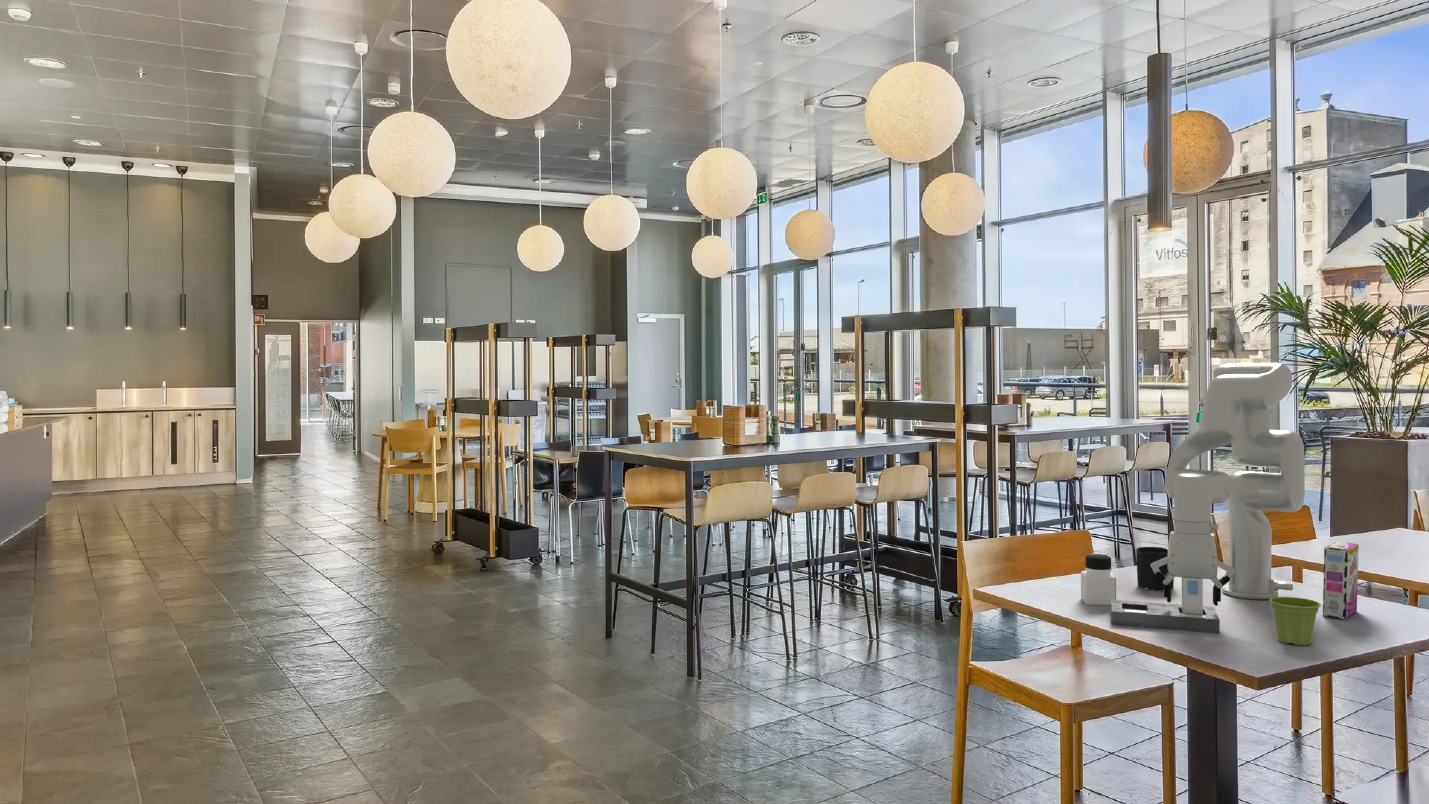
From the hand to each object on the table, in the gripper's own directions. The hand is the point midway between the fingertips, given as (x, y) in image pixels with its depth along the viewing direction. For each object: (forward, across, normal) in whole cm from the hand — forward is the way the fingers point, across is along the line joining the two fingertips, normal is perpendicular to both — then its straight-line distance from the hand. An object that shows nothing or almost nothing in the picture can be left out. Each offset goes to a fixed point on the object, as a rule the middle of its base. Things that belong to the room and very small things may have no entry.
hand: (1191, 602), depth 218 cm
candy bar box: (+5, -33, -21) cm, 40 cm away
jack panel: (+5, +6, 0) cm, 8 cm away
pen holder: (+5, +6, -37) cm, 38 cm away
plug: (+5, 0, 0) cm, 5 cm away
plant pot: (+5, -19, +8) cm, 21 cm away
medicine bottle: (+5, +20, -15) cm, 26 cm away
